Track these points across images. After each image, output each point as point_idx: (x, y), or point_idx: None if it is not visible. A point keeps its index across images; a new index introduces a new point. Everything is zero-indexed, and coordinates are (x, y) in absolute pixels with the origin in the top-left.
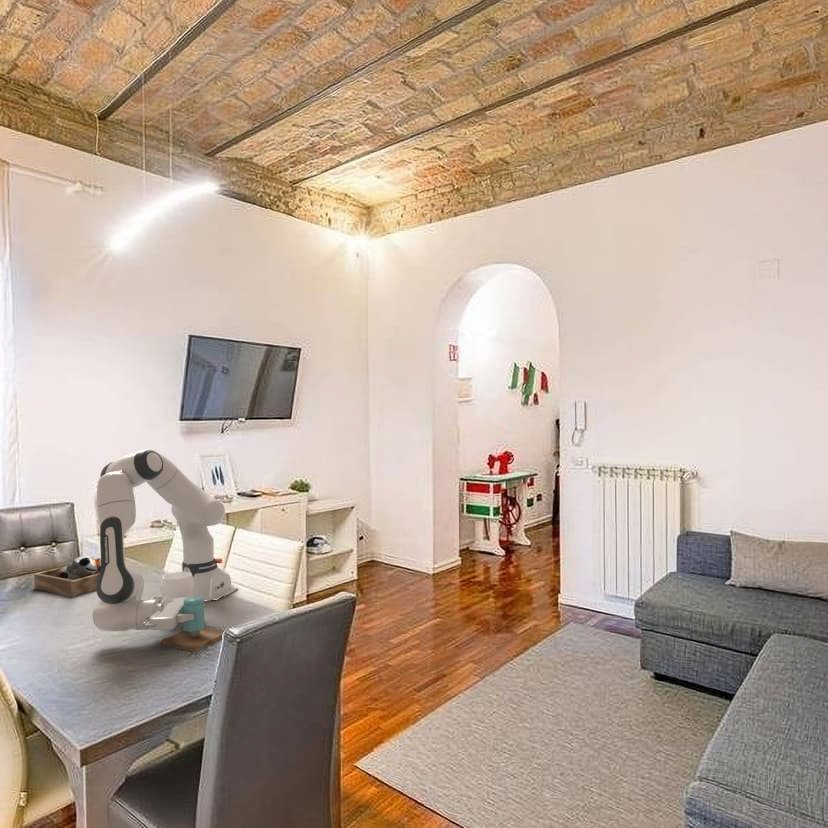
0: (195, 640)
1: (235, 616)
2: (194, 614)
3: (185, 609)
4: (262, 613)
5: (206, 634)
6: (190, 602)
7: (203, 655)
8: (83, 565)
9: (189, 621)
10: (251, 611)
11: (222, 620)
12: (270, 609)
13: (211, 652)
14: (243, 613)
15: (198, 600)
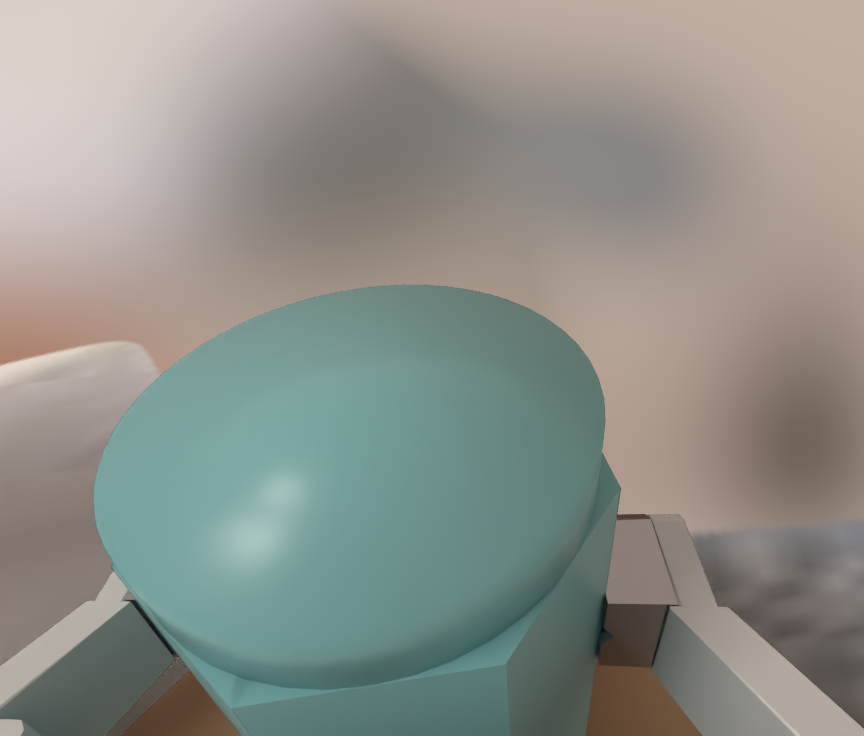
0: (589, 711)
1: (32, 498)
2: (616, 519)
3: (550, 663)
4: (115, 379)
5: None
6: (604, 411)
7: (849, 595)
8: None
9: (592, 682)
10: (24, 427)
11: (40, 575)
12: (82, 358)
13: (762, 543)
14: (17, 462)
15: (478, 320)
